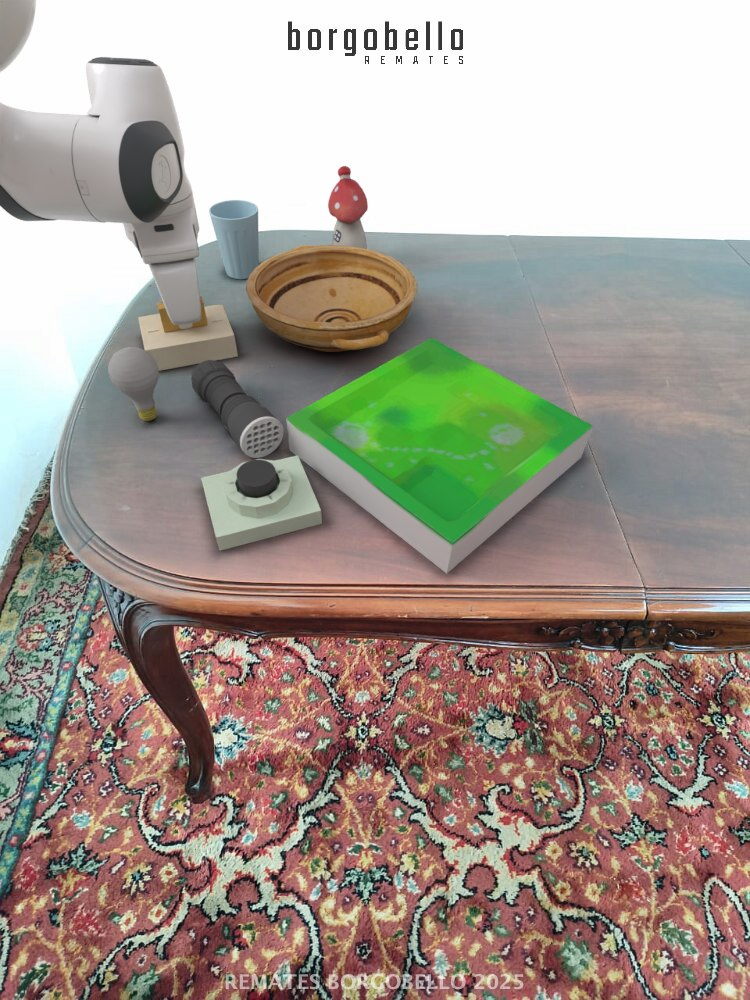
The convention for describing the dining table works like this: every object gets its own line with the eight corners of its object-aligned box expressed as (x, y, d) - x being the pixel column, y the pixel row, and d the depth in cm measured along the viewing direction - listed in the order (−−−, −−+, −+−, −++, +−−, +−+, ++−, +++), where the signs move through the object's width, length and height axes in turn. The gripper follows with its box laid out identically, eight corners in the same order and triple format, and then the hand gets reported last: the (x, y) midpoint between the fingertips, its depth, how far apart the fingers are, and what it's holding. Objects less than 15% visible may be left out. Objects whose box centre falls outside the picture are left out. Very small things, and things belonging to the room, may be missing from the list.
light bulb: (159, 436, 72) (137, 368, 65) (118, 429, 73) (92, 360, 66) (179, 409, 76) (160, 341, 68) (140, 402, 77) (117, 334, 69)
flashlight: (191, 398, 78) (182, 363, 74) (228, 384, 80) (222, 349, 76) (245, 464, 69) (238, 429, 65) (285, 447, 71) (281, 411, 67)
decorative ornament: (335, 251, 108) (333, 161, 97) (370, 254, 107) (372, 164, 96) (324, 275, 101) (321, 181, 90) (362, 278, 101) (363, 185, 90)
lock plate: (151, 372, 81) (144, 349, 78) (144, 338, 87) (137, 315, 84) (238, 356, 84) (234, 333, 82) (225, 324, 90) (221, 302, 87)
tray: (428, 368, 83) (431, 337, 80) (581, 457, 72) (593, 426, 68) (289, 450, 71) (286, 417, 67) (446, 573, 59) (452, 542, 56)
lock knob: (164, 332, 82) (157, 307, 79) (162, 325, 83) (156, 301, 80) (208, 325, 83) (203, 300, 80) (205, 318, 84) (200, 294, 81)
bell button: (243, 502, 60) (240, 490, 59) (235, 476, 63) (232, 464, 62) (281, 492, 61) (279, 481, 60) (272, 467, 64) (270, 455, 63)
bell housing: (219, 551, 61) (212, 526, 58) (204, 491, 66) (197, 465, 63) (322, 523, 63) (320, 498, 60) (299, 468, 69) (296, 443, 66)
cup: (269, 279, 100) (261, 216, 92) (223, 285, 98) (212, 221, 90) (261, 259, 105) (253, 197, 97) (217, 264, 103) (206, 202, 95)
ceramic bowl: (449, 369, 83) (456, 318, 78) (283, 406, 77) (277, 353, 71) (371, 275, 102) (372, 228, 96) (232, 298, 95) (224, 249, 89)
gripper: (125, 190, 78) (152, 288, 88) (141, 257, 65) (170, 363, 75) (174, 185, 79) (194, 282, 90) (199, 249, 67) (220, 354, 77)
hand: (184, 320), depth 82 cm, fingers closed, pressing on lock knob
